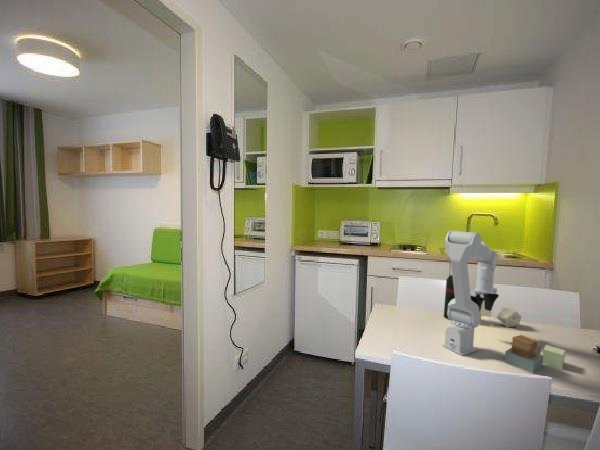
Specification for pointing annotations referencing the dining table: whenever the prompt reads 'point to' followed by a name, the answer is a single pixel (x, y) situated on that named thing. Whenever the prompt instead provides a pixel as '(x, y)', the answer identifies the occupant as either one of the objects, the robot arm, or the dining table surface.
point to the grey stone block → (509, 317)
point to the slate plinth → (524, 361)
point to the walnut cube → (524, 346)
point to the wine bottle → (448, 294)
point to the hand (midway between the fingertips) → (482, 311)
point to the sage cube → (553, 357)
